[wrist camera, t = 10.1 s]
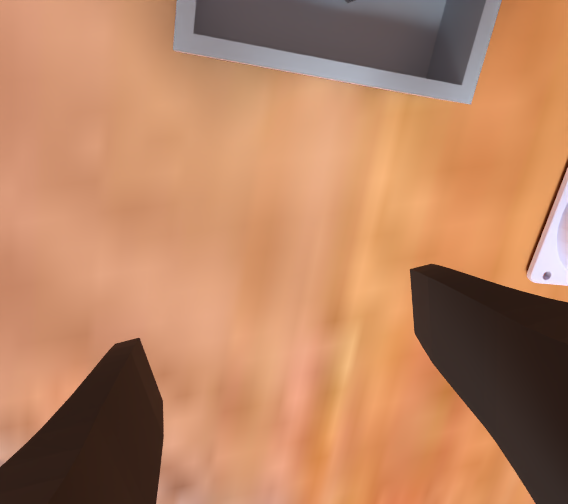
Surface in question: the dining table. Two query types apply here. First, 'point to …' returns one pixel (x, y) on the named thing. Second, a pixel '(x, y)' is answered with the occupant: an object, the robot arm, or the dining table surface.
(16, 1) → the dining table surface
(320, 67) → the bin
